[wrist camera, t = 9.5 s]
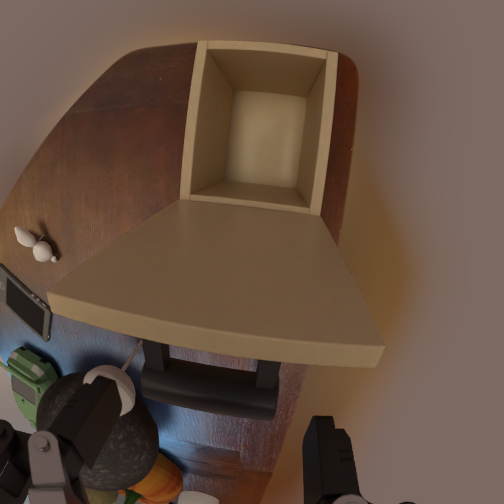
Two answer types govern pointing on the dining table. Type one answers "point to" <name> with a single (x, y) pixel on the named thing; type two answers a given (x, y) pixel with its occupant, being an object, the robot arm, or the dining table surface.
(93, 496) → the fruit
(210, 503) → the teardrop
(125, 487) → the decorative sphere
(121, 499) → the toy vehicle
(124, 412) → the lollipop
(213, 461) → the dining table surface
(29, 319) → the smartphone
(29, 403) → the toy car
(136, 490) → the pumpkin
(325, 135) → the chest
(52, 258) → the rabbit figurine
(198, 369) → the lid
